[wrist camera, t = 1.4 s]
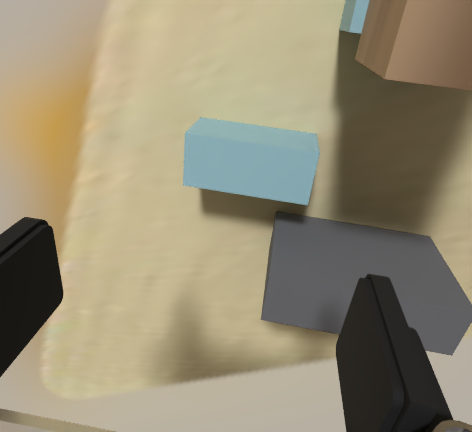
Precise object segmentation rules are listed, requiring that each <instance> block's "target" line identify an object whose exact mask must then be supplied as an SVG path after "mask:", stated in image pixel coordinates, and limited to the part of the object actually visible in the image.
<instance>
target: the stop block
mask: <svg viewBox="0 0 472 432" xmlns="http://www.w3.org/2000/svg"><path fill="white" fill-rule="evenodd" d="M367 274H374V275H380V276H386V277H389V278H390V280H391V282H392V285H393V287H394V290H395V293H396V295H397V298H398V300H399V303H400V306H401V308H402V311H403V313H404V316H405V318H406V321H407V324H408V326H409V327H411V328H414V329H415V330H416V331H417V333H418V335H419V337H420V339H421V342H422V344H423V347H424V349H425V351H430V352H436V353H441V354H446V355H453V353H454V351H455V349H456V348H457V346H458V344H459V343H460V341H461V339H462V338H463V336H464V334H465V333H466V331H467V329H468V327H469V326H470V324H471V322H472V304H471V302H470V301H469V299H468V298H467V296H466V294H465V293H464V291H463V290H462V288H461V286H460V285H459V283H458V281H457V280H456V278H455V277H454V275H453V273H452V272H451V270H450V268H449V267H448V265H447V264H446V262H445V260H444V259H443V257H442V255H441V254H440V252H439V251H438V249H437V247H436V246H435V244H434V242H433V241H432V239H431V238H430V236H424V235H418V234H412V233H405V232H399V231H393V230H387V229H381V228H375V227H369V226H362V225H356V224H350V223H344V222H338V221H332V220H326V219H320V218H313V217H307V216H301V215H295V214H289V213H283V212H277V211H276V216H275V221H274V227H273V232H272V238H271V243H270V249H269V257H268V266H267V274H266V283H265V291H264V299H263V308H262V316H261V320H265V321H270V322H276V323H281V324H286V325H292V326H297V327H302V328H308V329H313V330H318V331H324V332H329V333H334V334H340V332H341V329H342V326H343V323H344V320H345V317H346V314H347V312H348V309H349V306H350V303H351V300H352V297H353V294H354V291H355V288H356V286H357V283H358V280H359V278H365V277H366V276H367Z"/></svg>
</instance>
